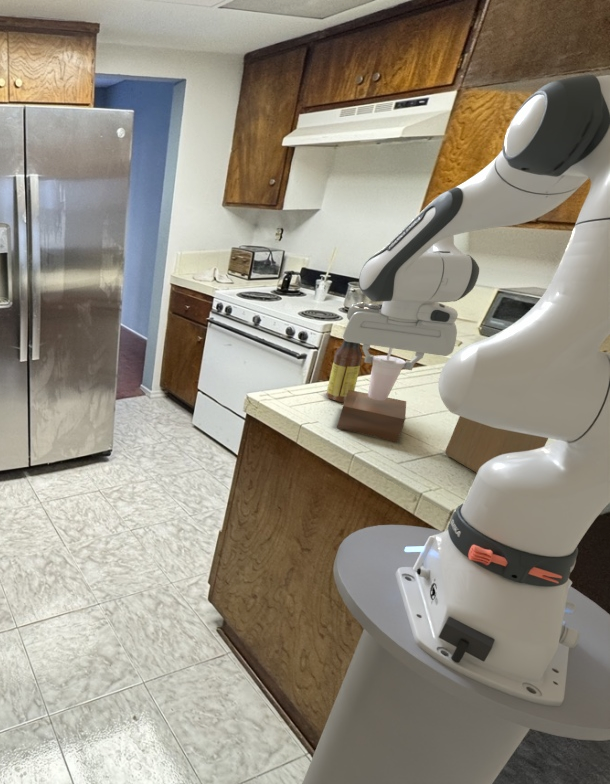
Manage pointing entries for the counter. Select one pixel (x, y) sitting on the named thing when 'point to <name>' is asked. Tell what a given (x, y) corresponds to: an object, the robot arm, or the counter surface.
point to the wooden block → (486, 443)
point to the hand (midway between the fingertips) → (387, 365)
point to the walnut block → (372, 416)
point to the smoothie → (384, 375)
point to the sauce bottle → (344, 371)
